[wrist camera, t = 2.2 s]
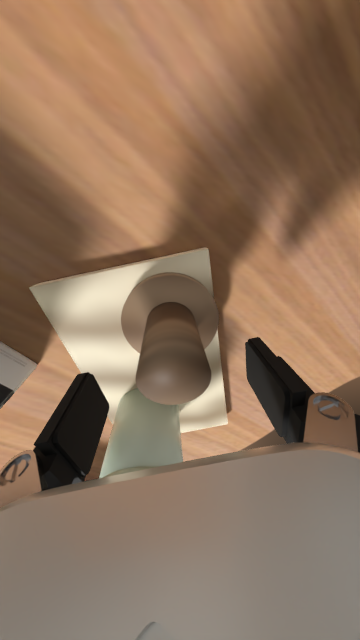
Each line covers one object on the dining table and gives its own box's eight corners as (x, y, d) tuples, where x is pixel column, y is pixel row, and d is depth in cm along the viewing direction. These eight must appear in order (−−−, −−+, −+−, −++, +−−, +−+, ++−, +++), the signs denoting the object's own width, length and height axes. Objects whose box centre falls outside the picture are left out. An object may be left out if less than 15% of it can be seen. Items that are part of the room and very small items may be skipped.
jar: (107, 393, 20) (75, 487, 12) (172, 380, 19) (176, 469, 12) (128, 431, 23) (112, 523, 16) (184, 420, 23) (193, 508, 16)
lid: (109, 283, 14) (64, 331, 8) (210, 262, 14) (247, 293, 8) (139, 361, 18) (125, 436, 11) (219, 345, 18) (249, 412, 11)
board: (38, 283, 15) (28, 287, 14) (205, 247, 14) (208, 249, 13) (126, 434, 25) (124, 443, 24) (225, 415, 25) (227, 424, 24)
